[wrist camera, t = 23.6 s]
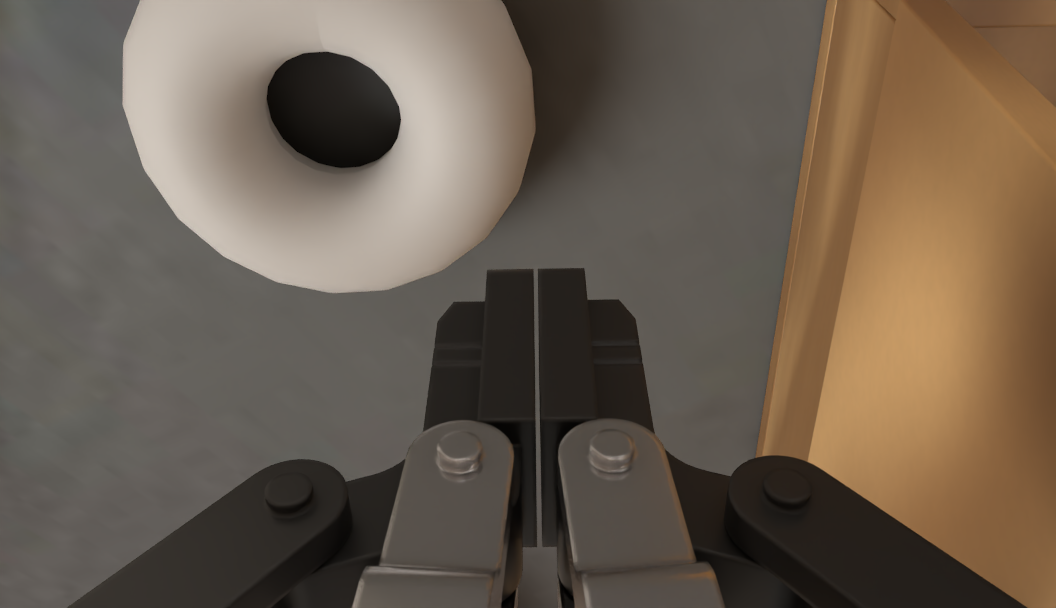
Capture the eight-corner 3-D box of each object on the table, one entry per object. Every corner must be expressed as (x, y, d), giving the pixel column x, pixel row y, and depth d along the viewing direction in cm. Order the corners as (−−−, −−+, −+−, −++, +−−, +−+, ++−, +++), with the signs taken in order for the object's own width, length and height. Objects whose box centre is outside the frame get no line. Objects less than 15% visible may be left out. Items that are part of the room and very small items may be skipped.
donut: (242, 278, 28) (572, 214, 27) (208, 348, 25) (574, 281, 24) (79, -64, 23) (483, -167, 21) (11, -24, 20) (472, -139, 18)
